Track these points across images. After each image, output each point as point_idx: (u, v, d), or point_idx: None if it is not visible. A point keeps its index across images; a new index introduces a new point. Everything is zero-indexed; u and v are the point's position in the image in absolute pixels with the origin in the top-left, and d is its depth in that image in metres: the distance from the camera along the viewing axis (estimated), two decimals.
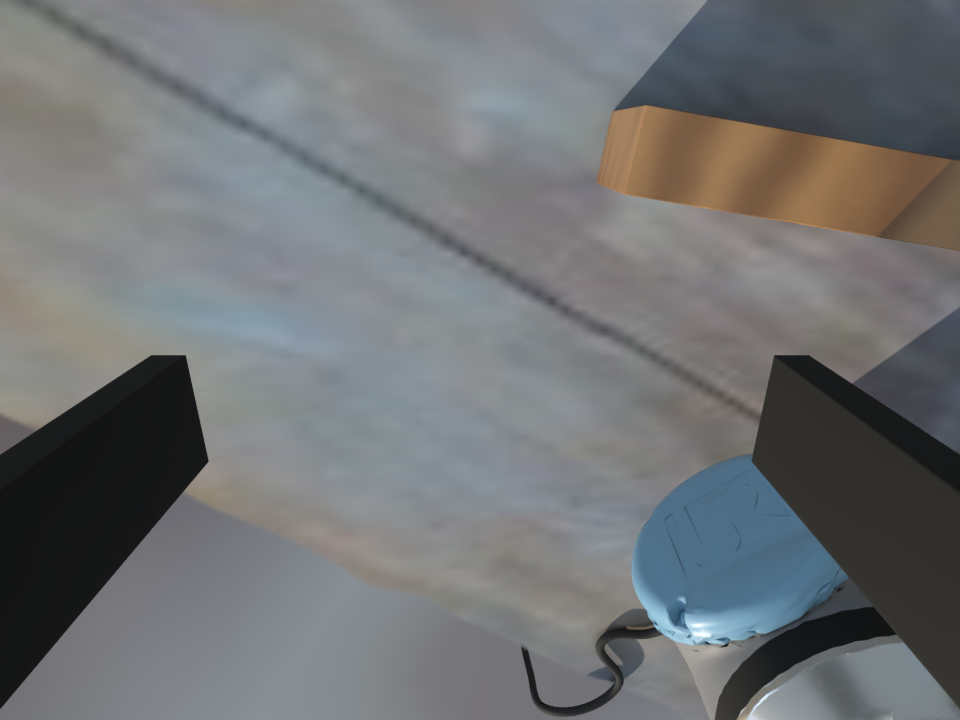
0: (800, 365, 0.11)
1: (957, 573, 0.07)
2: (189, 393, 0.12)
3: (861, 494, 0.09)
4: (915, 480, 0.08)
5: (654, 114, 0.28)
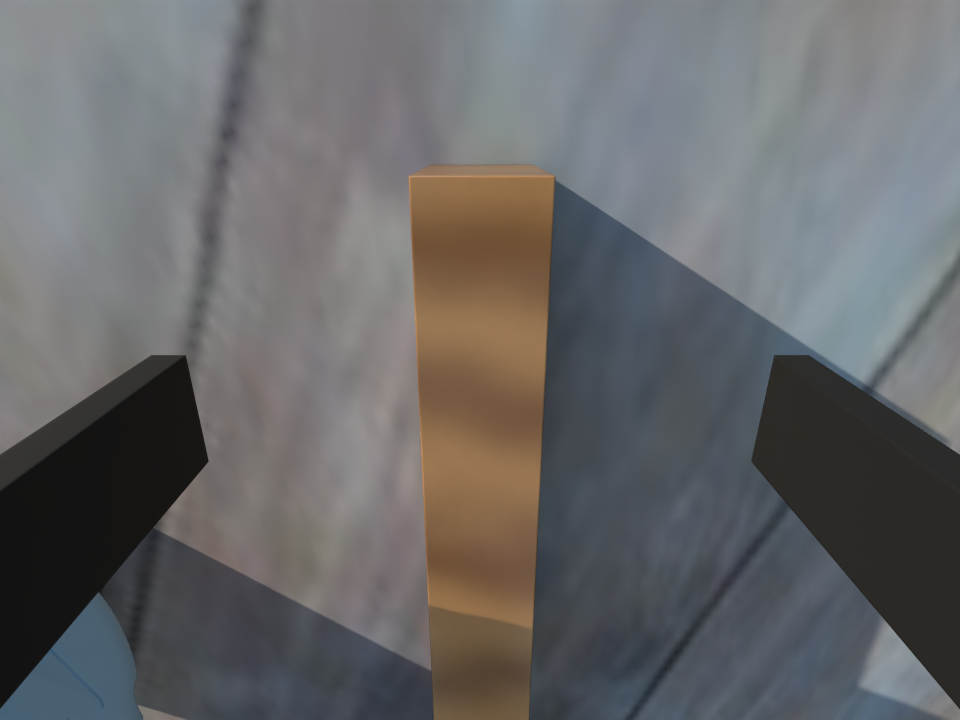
0: (800, 365, 0.11)
1: (957, 573, 0.07)
2: (189, 393, 0.12)
3: (861, 494, 0.09)
4: (915, 480, 0.08)
5: (542, 194, 0.17)
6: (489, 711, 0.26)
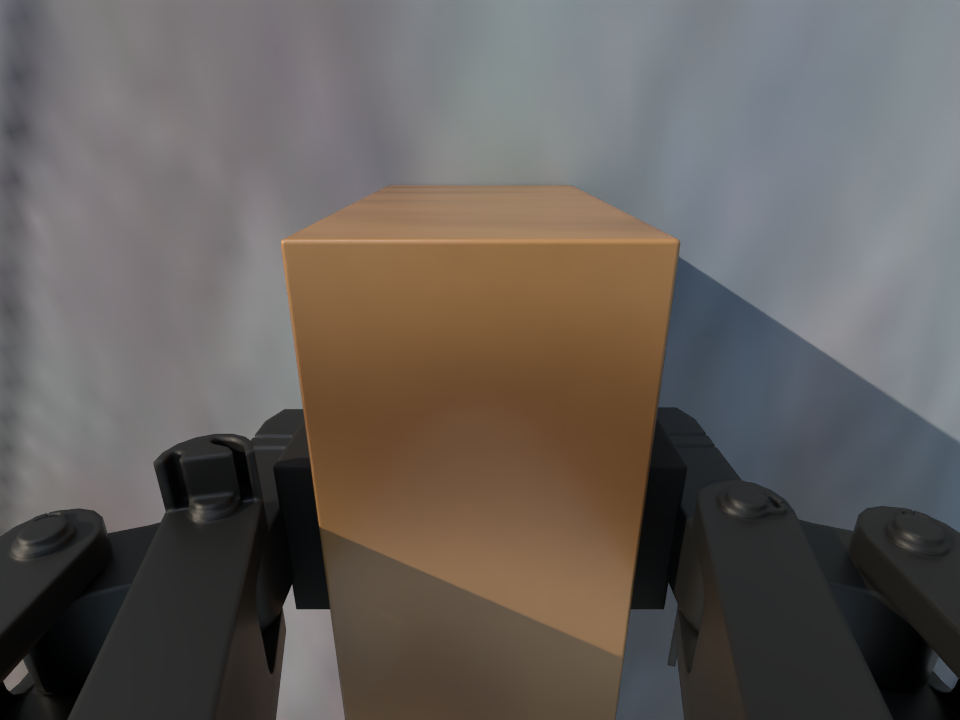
0: None
1: None
2: None
3: None
4: None
5: (642, 289, 0.06)
6: None
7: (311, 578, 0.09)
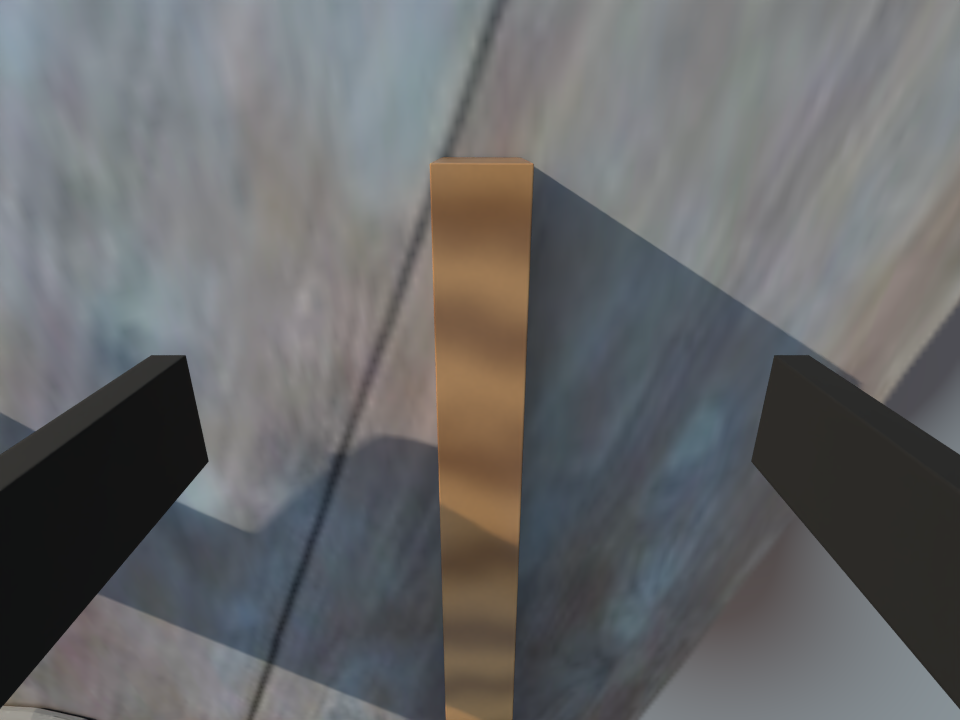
0: (800, 365, 0.11)
1: (957, 573, 0.07)
2: (190, 393, 0.12)
3: (861, 494, 0.09)
4: (915, 480, 0.08)
5: (524, 177, 0.24)
6: (486, 588, 0.32)
7: None
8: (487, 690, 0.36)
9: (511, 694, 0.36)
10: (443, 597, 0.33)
